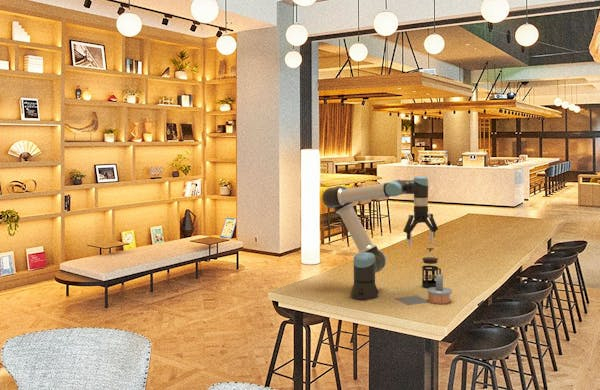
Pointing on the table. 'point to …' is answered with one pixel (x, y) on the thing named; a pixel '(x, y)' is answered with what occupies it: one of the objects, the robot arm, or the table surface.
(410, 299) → the mat
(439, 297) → the bowl
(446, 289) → the lid
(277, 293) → the table surface
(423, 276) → the french press
